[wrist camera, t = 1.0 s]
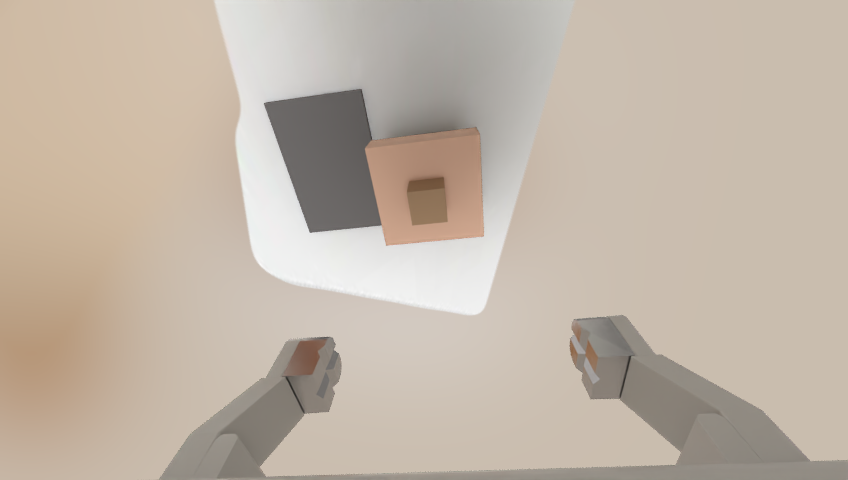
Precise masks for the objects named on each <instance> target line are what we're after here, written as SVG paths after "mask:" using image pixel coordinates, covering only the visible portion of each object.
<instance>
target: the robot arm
mask: <svg viewBox="0 0 848 480" xmlns="http://www.w3.org/2000/svg"><path fill="white" fill-rule="evenodd" d="M572 330H573V332H574V335H573V336H572V337H571V338H570V352H571V356H572V360H573V362H574V364H575V367H576V368H577V369H578V370H580V371H581V372H582V373H583V375H582V381H583V384H584V386H585V388H586V390H587V392H588V394H589V396H590V398H591V399H620V400H621V401H622V402H623V403H625V404H626V405H627V406H628V407H629V408H630V409H631V410H633V411H634V412H635V413H636V414H637V415H638V416H640V417H641V418H642V419H643V420H644V421H645V422H647V423H648V424H649V425H650V426H651V427H652V428H654V429H655V430H656V431H657V432H658V433H659V434H661V435H662V436H663V437H664V438H665V439H666V440H668V441H669V442H670V443H671V444H672V445H673V446H675V447H676V448H677V449H678V450H679V451H680V452H681V454H680V456H679V459H678V461H677V463H676V465H664V466H663V465H661V466H629V467H628V466H626V467H592V468H556V469H524V470H486V471H453V472H418V473H383V474H347V475H312V476H278V477H266V476H265V474H264V473H263V471H262V470H261V469H260V466H261V465H262V464H263V462H264V461H265V460H266V459H267V458H268V457H269V455H270V454H271V453H272V452H273V451H274V450H275V448H276V447H277V446H278V445H279V444H280V443H281V442H282V440H283V439H284V438H285V437H286V436H287V435H288V433H289V432H290V431H291V430H292V429H293V428H294V427H295V425H296V424H297V423H298V422H299V421H300V419H301V418H302V417H303V416H304V414H305V413H319V412H329V410H330V407H331V404H332V400H333V397H334V394H335V393H334V390H333V386H335V385H336V384H337V383H338V382H339V378H340V375H341V359H340V356H339V353H337V352H336V351H334V348H335V342H334V340H333V338H331V337H317V338H303V339H289V340H288V341H287V342H286V343H285V345H284V346H283V348H282V350H281V352H280V354H279V355H278V357H277V359H276V361H275V362H274V364H273V366H272V368H271V369H270V371H269V373H268V375H267V377H266V378H261V379H260V380H259V381H257V382H256V383H255V384H254V385H252V386H251V387H250V388H248V389H247V390H246V391H245V392H243V393H242V394H241V395H240V396H238V397H237V398H236V399H234V400H233V401H232V402H231V403H230V404H228V405H227V406H225V407H224V408H223V409H222V410H220V411H219V412H218V413H216V414H215V415H214V416H213V417H211V418H210V419H209V420H207V421H206V422H205V423H204V424H202V425H201V426H200V427H198V428H197V429H196V430H195V431H193V432H192V433H191V434H190V435H189V436H188V438H187V439H186V441H185V442H184V444H183V445H182V446H181V448H180V450H179V451H178V452H177V454H176V455H175V457H174V458H173V460H172V461H171V463H170V464H169V465H168V467H167V468H166V470H165V471H164V473H163V474H162V476H161V477H160V479H159V480H848V460H841V461H839V460H838V461H810V460H809V459H808V458H807V457H806V456H805V455H804V454H803V453H802V452H801V451H800V450H799V448H798V447H797V446H796V445H795V444H794V443H793V442H792V441H791V440H790V439H789V438H788V437H787V436H786V435H785V434H784V433H783V432H782V431H781V430H780V429H779V428H778V427H777V426H776V424H775V423H774V422H773V421H772V420H771V419H770V418H769V417H768V416H767V415H766V414H765V413H764V412H763V411H762V410H761V409H759V408H757V407H755V406H753V405H752V404H750V403H748V402H746V401H744V400H742V399H741V398H739V397H737V396H735V395H733V394H732V393H730V392H728V391H726V390H724V389H723V388H720V387H719V386H717V385H715V384H714V383H712V382H710V381H708V380H706V379H705V378H703V377H701V376H699V375H697V374H695V373H694V372H692V371H690V370H688V369H686V368H685V367H683V366H681V365H679V364H677V363H675V362H674V361H672V360H670V359H668V358H667V357H665V356H663V355H656V354H655V353H654V352H653V351H652V349H651V348H650V347H649V346H648V344H647V343H646V342H645V340H644V339H643V338H642V336H641V335H640V334H639V333H638V331H637V330H636V329H635V328H634V326H633V325H632V324H631V322H630V321H629V320H628V318H627V317H625V316H623V315H619V316H607V317H597V318H583V319H574V320H573V322H572Z"/></svg>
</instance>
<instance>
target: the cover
mask: <svg viewBox="0 0 848 480" xmlns="http://www.w3.org/2000/svg"><path fill="white" fill-rule="evenodd" d="M365 152H366V156H367V161H368V165H369V170H370V174H371V179H372V183H373V188H374V192H375V197H376V201H377V206H378V210H379V215H380V219H381V224H382V228H383V233H384V237H385V242H386V246H387V245H397V244H408V243H419V242H429V241H440V240H450V239H461V238H472V237H482V236H484V226H483V201H482V175H481V150H480V133H479V132H478V130H477V128H476V127H474V128H466V129H458V130H450V131H443V132H435V133H427V134H419V135H411V136H403V137H395V138H388V139H380V140H372V141H370V142H369V144H368V145H367V146H366V148H365Z"/></svg>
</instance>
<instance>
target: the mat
mask: <svg viewBox="0 0 848 480" xmlns="http://www.w3.org/2000/svg"><path fill="white" fill-rule="evenodd" d="M264 105H265V108H266V111H267V113H268V116H269V119H270V122H271V125H272V127H273V130H274V133H275V136H276V139H277V142H278V144H279V147H280V150H281V153H282V156H283V158H284V161H285V164H286V167H287V170H288V172H289V175H290V178H291V181H292V184H293V186H294V189H295V192H296V195H297V198H298V200H299V203H300V206H301V209H302V212H303V214H304V217H305V220H306V223H307V226H308V229H309V231H310V233H311V232H321V231H331V230H341V229H350V228H360V227H370V226H380V225H382V224H381V219H380V215H379V210H378V206H377V201H376V197H375V192H374V188H373V183H372V179H371V174H370V170H369V165H368V161H367V156H366V152H365V148H366V146H367V145H368V144H369V142H370V141H372V138H371V133H370V129H369V124H368V119H367V114H366V109H365V105H364V100H363V95H362V90H361V89H358V90H351V91H344V92H337V93H330V94H323V95H316V96H310V97H303V98H296V99H289V100H282V101H275V102H268V103H264Z"/></svg>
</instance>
